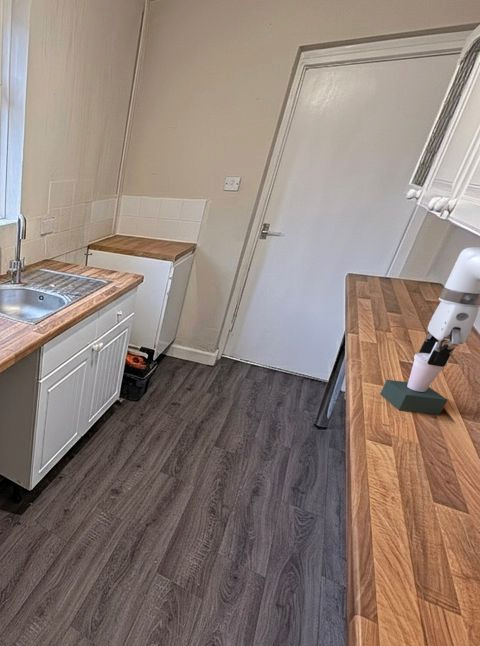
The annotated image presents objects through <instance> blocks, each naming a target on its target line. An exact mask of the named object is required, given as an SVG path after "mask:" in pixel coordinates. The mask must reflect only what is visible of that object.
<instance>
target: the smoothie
mask: <svg viewBox="0 0 480 646" xmlns="http://www.w3.org/2000/svg"><path fill="white" fill-rule="evenodd" d="M437 343H438V342H436V343H435V346H434V348H433V350H436V347H437ZM433 350H432V352H433ZM432 352H431V354H432ZM431 354H427V353H419V352H416V353H415V354H414V356H413V358H414V360H413V363H412V367H411V370H410V375H409V378H408V380H407V382H408V385H407V387H408V388H410V389H412V390H415V391H419V392H425V391H426V390H427V389H428V387H431V385H432V384H433V382H434V381H435V379H436V378H437V376H438V375H440V373H441V371H442V370H443V368H444V367H445V366H448V364H449V360H448V361H447V363H446V365H445V366H444V367H440V366H435V365H429V364H428V363H427V362H428V360H429V358H430V356H431Z"/></svg>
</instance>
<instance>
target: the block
mask: <svg viewBox="0 0 480 646" xmlns="http://www.w3.org/2000/svg"><path fill="white" fill-rule="evenodd" d="M407 385H408V381H403V380H393V379H386V380H385V382H384V385H383V387H382V389H381V391H380V394H379V395H380V396H381V397H383V398H384V399H385V400H386V401H387V402H388V403H389V404H391V405H392V406H393V407H394V408H396V409H397V410H398V411H402V412H410V413H411V412H412V413H418V414H424V415H425V414H427V415H434V416H440V415H441V413H442V412H443V409H444V408H445V406H446V404H447V402H448V399H447V398H446V397H445V396H443V395H442V394H440V393H439V392H437V391H436V390H435V389H433V388H431V386H429V387H428V389H427V390H426V391H425V392H419V391H415V390H412V389H410V388H408V387H407Z"/></svg>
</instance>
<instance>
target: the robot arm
mask: <svg viewBox="0 0 480 646" xmlns="http://www.w3.org/2000/svg"><path fill="white" fill-rule="evenodd" d="M454 263H455V264H454V266H453V267H452V270H451V272H450V274H449V276H448V278H447V281H446V282H445V285H444V286H443V289H442V291H441V293H440V295H439V297H438V301H440V302H439V304H438V305H437V308H436V309H435V311H434V313H433V314H432V316H431V318H430V320H429V323H428V325H427V331H428V332H427V335H426V336H425V338H424V341H423V342H422V344H421V346H420V349H419V351H418V353H427V354H431V352H432V350H433V348H434V346H435V343H436V342H438V343H437V347H436V350H433V352H432V354H431V356H430V358H429V360H428V362H427V363H428V364H429V365H435V366H440V367H443V368H444V367H445V365H446V363H447V361H448V362H449V359H450V358H451V355H452V354H453V352H454V350H455V349H456V348H457V347H459V345H463V344H465V343H466V342H467V340H468V337H469V336H470V333H471V331H472V329H473V326H474V325H475V321H476V319H477V316H478V313H479V308H480V246H471V247H466V248H464V249H462V250H461V252H460V253H459V255H458V256H457V259H456V262H454ZM447 364H448V363H447ZM446 366H447V365H446Z"/></svg>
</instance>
